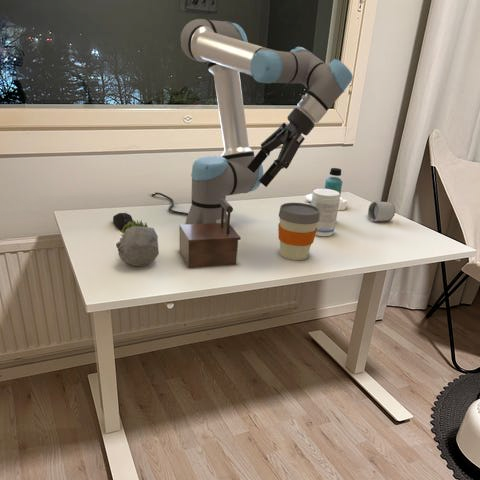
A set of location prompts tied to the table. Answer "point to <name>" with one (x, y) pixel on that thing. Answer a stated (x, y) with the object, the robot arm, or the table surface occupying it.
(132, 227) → the potted plant
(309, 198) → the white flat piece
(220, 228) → the bin lid
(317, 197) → the supplement tub
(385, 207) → the ceramic mug
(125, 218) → the gaming mouse
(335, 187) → the beverage bottle
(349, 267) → the table surface
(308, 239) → the reusable coffee cup
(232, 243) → the bin
